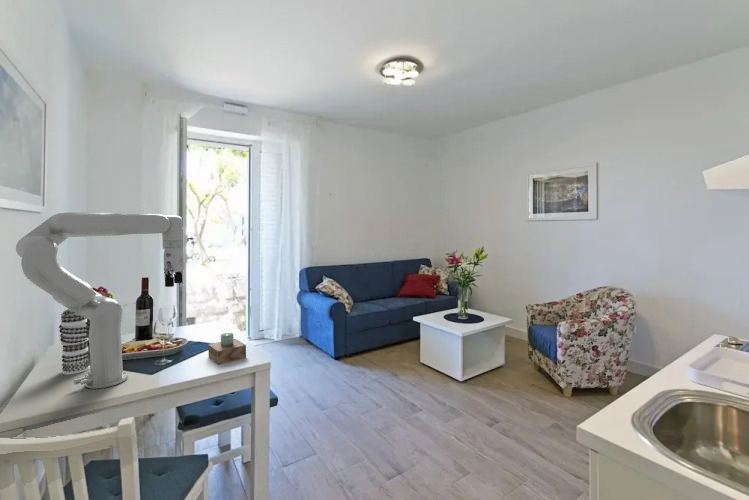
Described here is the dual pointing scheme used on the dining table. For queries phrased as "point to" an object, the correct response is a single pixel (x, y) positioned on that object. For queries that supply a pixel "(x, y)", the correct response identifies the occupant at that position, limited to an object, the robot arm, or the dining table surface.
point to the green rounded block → (227, 339)
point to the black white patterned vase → (74, 342)
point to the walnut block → (227, 352)
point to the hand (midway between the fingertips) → (174, 284)
